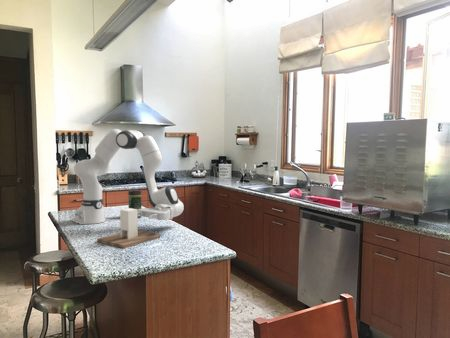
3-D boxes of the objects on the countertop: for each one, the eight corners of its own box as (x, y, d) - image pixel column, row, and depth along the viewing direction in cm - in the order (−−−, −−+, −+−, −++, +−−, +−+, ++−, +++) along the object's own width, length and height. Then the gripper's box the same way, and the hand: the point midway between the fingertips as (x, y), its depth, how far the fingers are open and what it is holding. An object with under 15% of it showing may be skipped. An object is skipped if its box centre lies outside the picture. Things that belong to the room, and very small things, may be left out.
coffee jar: (143, 217, 242) (142, 189, 240) (131, 218, 238) (130, 190, 236) (139, 214, 250) (138, 187, 249) (127, 216, 246) (126, 188, 245)
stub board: (97, 241, 184) (97, 232, 184) (133, 231, 204) (133, 223, 204) (124, 248, 173) (123, 239, 173) (160, 237, 193) (160, 229, 193)
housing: (120, 236, 188) (120, 209, 187) (129, 234, 193) (129, 208, 192) (128, 238, 184) (128, 211, 183) (137, 236, 189) (137, 209, 188)
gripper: (148, 204, 213) (129, 208, 201) (174, 208, 201) (156, 212, 190) (148, 215, 213) (129, 219, 202) (174, 219, 202) (156, 224, 190)
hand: (142, 216), depth 196 cm, fingers open, 8 cm apart
